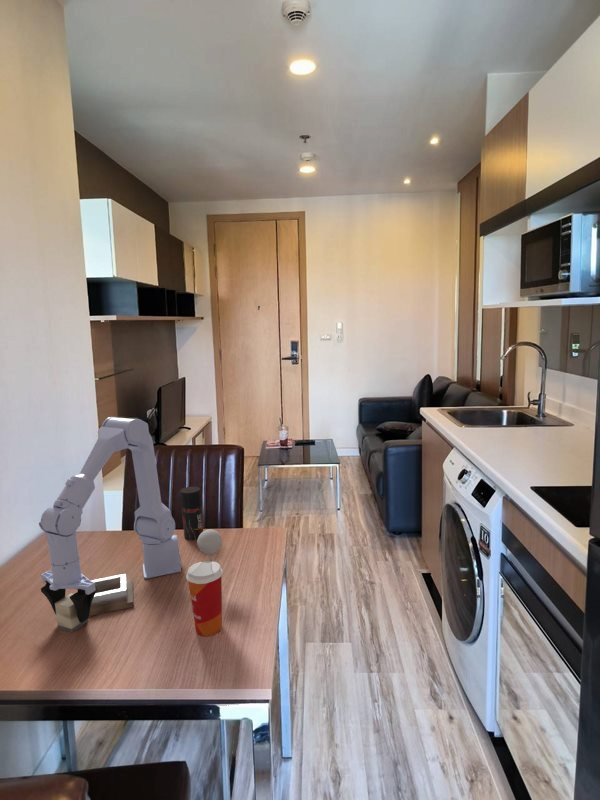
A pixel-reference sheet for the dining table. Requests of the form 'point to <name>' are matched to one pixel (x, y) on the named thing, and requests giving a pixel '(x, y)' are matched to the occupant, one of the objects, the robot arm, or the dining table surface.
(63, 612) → the sleeve block
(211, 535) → the lollipop
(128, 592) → the collar board
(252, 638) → the dining table surface
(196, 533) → the deodorant
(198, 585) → the paper cup
